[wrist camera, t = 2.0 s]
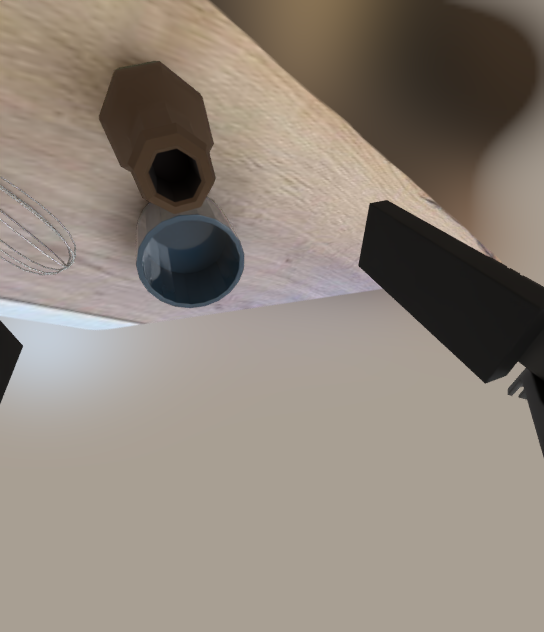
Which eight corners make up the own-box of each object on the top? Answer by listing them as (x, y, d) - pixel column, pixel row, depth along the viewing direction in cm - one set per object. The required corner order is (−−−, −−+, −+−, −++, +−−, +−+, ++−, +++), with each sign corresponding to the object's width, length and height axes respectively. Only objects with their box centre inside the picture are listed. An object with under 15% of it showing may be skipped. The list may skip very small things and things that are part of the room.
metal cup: (119, 250, 37) (116, 284, 32) (166, 168, 33) (172, 191, 28) (199, 286, 45) (209, 319, 39) (245, 223, 41) (263, 249, 35)
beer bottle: (207, 123, 32) (289, 195, 15) (153, 168, 33) (171, 285, 16) (152, 38, 27) (183, -2, 9) (89, 95, 28) (15, 153, 10)
